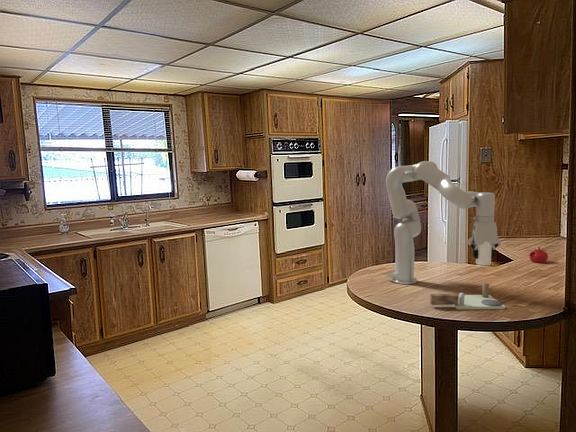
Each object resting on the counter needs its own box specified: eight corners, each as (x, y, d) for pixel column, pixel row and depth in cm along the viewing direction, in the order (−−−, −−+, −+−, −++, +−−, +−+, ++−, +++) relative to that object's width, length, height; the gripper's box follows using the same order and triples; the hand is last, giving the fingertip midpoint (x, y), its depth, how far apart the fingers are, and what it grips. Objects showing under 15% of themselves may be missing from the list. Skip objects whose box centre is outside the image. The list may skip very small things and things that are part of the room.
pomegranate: (548, 261, 265) (549, 246, 264) (547, 264, 257) (548, 249, 256) (529, 259, 270) (530, 244, 269) (528, 262, 262) (529, 247, 261)
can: (472, 262, 205) (473, 237, 204) (485, 262, 206) (486, 237, 204) (480, 266, 199) (481, 240, 197) (493, 265, 199) (494, 239, 198)
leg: (456, 302, 188) (456, 293, 188) (458, 304, 186) (458, 295, 185) (430, 303, 189) (430, 294, 188) (431, 304, 186) (432, 295, 186)
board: (456, 309, 184) (457, 292, 183) (444, 297, 200) (445, 282, 199) (505, 309, 183) (505, 292, 183) (489, 297, 199) (489, 281, 198)
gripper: (469, 220, 196) (467, 260, 198) (508, 220, 196) (506, 259, 198) (462, 218, 203) (461, 256, 206) (500, 218, 203) (498, 255, 205)
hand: (483, 257), depth 202 cm, fingers closed on can, 6 cm apart
